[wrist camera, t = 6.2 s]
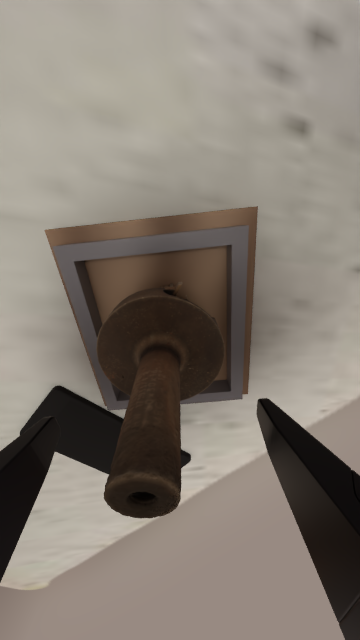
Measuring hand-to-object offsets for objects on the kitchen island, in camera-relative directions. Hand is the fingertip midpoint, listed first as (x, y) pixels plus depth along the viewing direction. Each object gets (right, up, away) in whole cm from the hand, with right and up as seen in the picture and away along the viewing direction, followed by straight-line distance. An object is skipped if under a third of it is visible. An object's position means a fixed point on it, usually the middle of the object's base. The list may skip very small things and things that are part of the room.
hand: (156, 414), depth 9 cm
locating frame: (0, +4, +9) cm, 10 cm away
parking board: (0, +4, +9) cm, 10 cm away
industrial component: (0, +4, +8) cm, 9 cm away
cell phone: (-7, -10, +16) cm, 20 cm away
